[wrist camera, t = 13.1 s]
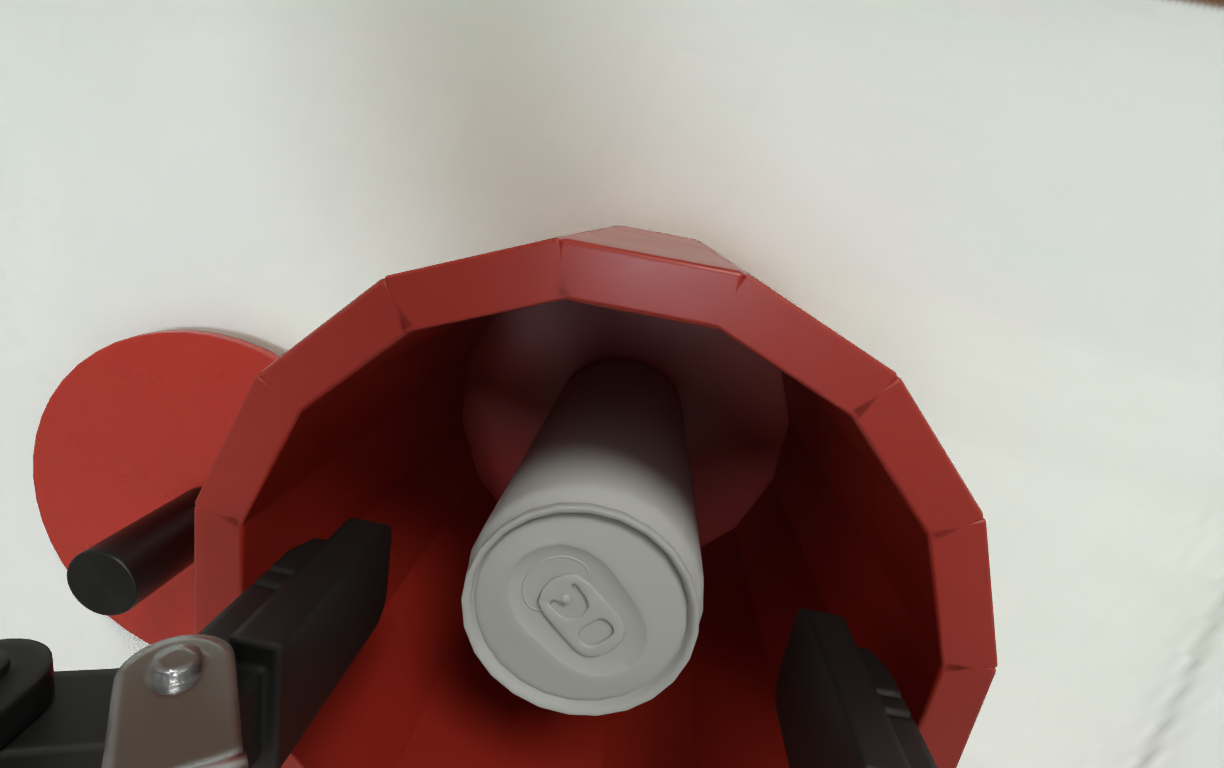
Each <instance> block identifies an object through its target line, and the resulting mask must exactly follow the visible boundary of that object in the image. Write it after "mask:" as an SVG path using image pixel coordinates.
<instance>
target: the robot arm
mask: <svg viewBox="0 0 1224 768" xmlns="http://www.w3.org/2000/svg"><path fill="white" fill-rule="evenodd" d="M391 541H392V530H391V527H390V525H387V524H382V523H377V522H372V521H367V520H362V519H357V518H349V519H348V520H346V521H345V522H344V523H343V524H342V525H341V526H340V527H339V528H338V529H337V530H336V531H335V532H334V533H333V534H332V535H331V536H330V537H329V538H328V539H327V540H324V539H319V538H313V539H311V540H309V541H307V542H305V543H303V544H301V545H299V546H296V547H294V548H292V549H290V550H288V551H287V552H286V553H285V554H284V555H283V556H282V557H281V558H280V559H279V560H277V561H276V562H275V563H274V564H273V565H272V566H271V567H270V570H269V571H268V570H267V571H266V572H264V573H263V574H262V575H261V576H260V577H259V578H258V579H257V580H256V581H255V584H254V585H250V586H249V587H248V588H247V589H246V590H245V591H244V592H243V593H242V594H241V595H240V596H238V597H237V598H236V599H235V600H234V601H233V602H232V603H231V604H230V605H229V606H228V607H226V608H225V609H224V610H223V611H222V612H221V613H220V614H219V615H218V616H217V617H216V618H215V619H213V620H212V621H211V622H210V623H209V624H208V625H207V626H206V627H205V628H204V629H203V630H202V631H200V632H199V633H198V634H190V635H182V636H176V637H172V638H168V639H165V640H162V641H159V642H156V643H154V644H151V645H149V646H147V647H145V648H143V649H142V650H140V651H138V652H137V653H135V654H134V655H132V656H131V657H130V658H129V659H128V660H126V661H125V662H124V663H123V665H122V666H121V667H120V668H116V669H99V670H78V671H56V672H54V670H53V659H52V652H51V651H50V649H49V648H48V647H47V646H46V645H44V644H42V643H40V642H38V641H34V640H30V639H2V640H0V768H281V767H282V765H283V764H284V762H285V761H286V759H287V758H288V756H289V755H290V753H291V752H292V750H293V749H294V747H295V746H296V744H297V743H298V741H299V740H300V739H301V737H302V736H303V734H304V733H305V731H306V730H307V728H308V727H309V725H310V724H311V722H312V721H313V719H314V718H315V716H316V715H317V713H318V712H319V710H320V709H321V708H322V706H323V705H324V703H325V702H326V700H327V699H328V697H329V696H330V694H331V693H332V691H333V690H334V688H335V687H336V685H337V684H338V682H339V681H340V679H341V678H342V676H343V675H344V674H345V672H346V671H347V669H348V668H349V666H350V665H351V663H352V662H353V660H354V659H355V657H356V656H357V654H358V653H359V651H360V650H361V648H362V647H363V645H364V644H365V643H366V641H367V640H368V638H369V637H370V635H371V634H372V632H373V631H374V629H375V628H376V626H377V624H378V622H379V620H380V617H381V615H382V612H383V609H384V605H385V601H386V596H387V587H388V575H389V564H390V552H391ZM775 704H776V711H777V716H778V720H779V724H780V728H781V733H782V737H783V741H784V746H785V750H786V754H787V759H788V763H789V767H790V768H938V767H937V765H936V763H935V761H934V759H933V757H932V755H931V753H930V751H929V749H928V747H927V745H926V743H925V741H924V739H923V737H922V735H921V733H920V731H919V729H918V727H917V725H916V723H915V721H914V719H911V713H910V711H909V709H908V707H907V705H906V703H905V701H904V699H901V693H900V691H899V689H898V687H897V685H896V683H895V681H894V679H893V677H892V675H891V673H890V671H889V670H888V669H887V668H886V667H885V666H884V665H883V664H882V662H881V661H880V660H879V659H878V658H877V657H876V656H875V655H874V654H873V653H872V652H871V651H870V650H869V649H867V648H861V647H857V646H856V643H855V641H854V639H853V637H852V635H851V632H850V630H849V628H848V626H847V623H846V621H845V619H844V618H843V617H842V616H841V615H837V614H831V613H826V612H821V611H816V610H811V609H806V608H800V609H799V610H798V612H797V614H796V616H795V619H794V622H793V626H792V629H791V632H790V635H789V639H788V642H787V645H786V649H785V652H784V655H783V658H782V662H781V665H780V668H779V672H778V675H777V681H776V689H775Z"/></svg>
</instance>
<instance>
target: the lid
mask: <svg viewBox="0 0 1224 768" xmlns="http://www.w3.org/2000/svg"><path fill="white" fill-rule="evenodd" d="M279 357H280V356H278V355H276V354H274V353H272V352H270V351H269V350H267V349H264V348H262V347H259V346H257V345H254V344H252V343H249V342H246V341H244V340H241V339H237V338H233V337H229V336H226V335H222V334H218V333H210V332H203V331H195V330H168V331H161V332H154V333H147V334H142V335H138V336H135V337H131V338H128V339H125V340H122V341H118V342H115V343H113V344H111V345H109V346H107V347H105V348H103V349H101V350H99V351H97V352H95V353H94V354H92V355H91V356H90V357H88V358H87V359H85V360H84V361H83V362H81V363H80V364H78V365H77V366H76V367H75V368H74V369H73V370H72V371H71V372H70V373H69V374H68V375H67V376H66V377H65V378H64V379H63V381H62V382H61V383H60V385H59V386H58V388H57V389H56V390H55V392H54V393H53V395H52V396H51V398H50V400H49V402H48V404H47V406H46V408H45V410H44V412H43V415H42V417H41V421H40V424H39V427H38V431H37V434H36V440H35V447H34V454H33V479H34V486H35V493H36V499H37V503H38V507H39V510H40V514H41V518H42V521H43V524H44V526H45V529H46V531H47V533H48V536H49V538H50V541H51V543H52V545H53V547H54V548H55V550H56V552H57V554H58V556H59V558H60V559H61V561H62V563H63V564H64V566H65V567H66V569H67V580H68V584H69V587H70V589H71V591H72V593H73V595H74V596H75V597H76V599H77V600H78V601H79V602H80V603H81V604H82V605H84V606H85V607H86V608H88V609H89V610H91V611H93V612H96V613H98V614H102V615H107V616H109V617H110V618H112V619H113V620H114V621H116V622H117V623H118V624H119V625H121V626H122V627H123V628H125V629H126V630H127V631H129V632H131V633H132V634H134V635H135V636H137V637H138V638H140V639H142V640H143V641H145V642H147V643H149V644H154V643H156V642H159V641H162V640H165V639H168V638H172V637H176V636H182V635H190V634H195V602H194V508H195V506H196V504H195V501H196V499H197V497H198V495H199V493H200V491H201V489H202V487H203V485H204V482H205V480H206V478H207V476H208V474H209V472H210V470H211V468H212V466H213V464H214V462H215V460H216V458H217V456H218V454H219V452H220V450H221V448H222V445H223V443H224V441H225V439H226V437H227V435H228V433H229V431H230V429H231V427H232V425H233V423H234V421H235V419H236V417H237V415H238V413H239V411H240V408H241V406H242V404H243V402H244V400H245V398H246V396H247V394H248V392H249V390H250V388H251V386H252V384H253V382H254V380H255V378H256V377H257V376H258V375H260V373H261V372H262V370H264V369H265V368H266V367H268V366H269V365H270V364H271V363H273V362H274V361H275V360H277V359H278V358H279Z"/></svg>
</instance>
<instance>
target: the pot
mask: <svg viewBox="0 0 1224 768" xmlns="http://www.w3.org/2000/svg"><path fill="white" fill-rule="evenodd" d="M607 360H629V361H632V362H636V363H640V364H644V365H646V366H648V367H649V368H651V369H653V370H655V371H657V372H658V373H660V374H661V375H662V376H663V377H664V378H665V379H666V380H667V381H668V382H669V383H670V384H671V385H672V387H673V389H674V391H675V393H676V395H677V397H678V399H679V401H680V406H681V410H682V415H683V421H684V430H685V438H686V445H687V451H688V456H689V462H690V468H691V474H692V482H693V490H694V498H695V506H696V515H697V524H698V533H699V541H700V550H701V559H702V568H703V576H704V591H703V613H702V616H701V619H700V622H699V633H698V636H697V639H696V643H695V646H694V649H693V652H692V655H691V658H690V660H689V661H688V663H687V664H686V665H685V667H684V668H683V670H682V671H681V672H680V674H679V675H678V677H677V678H676V679H675V681H674V682H673V683H671V684H670V685H669V686H668V687H667V688H665V689H664V690H663V691H662V692H660V693H659V694H658V695H657V696H655V697H654V698H653V699H651V700H649V701H647V702H644V703H642V704H640V705H638V706H635V707H633V708H631V709H629V710H626V711H621V712H615V713H610V714H605V715H599V716H591V715H568V714H564V713H560V712H556V711H553V710H549V709H545V708H541V707H538V706H536V705H534V704H532V703H530V702H529V701H527V700H525V699H523V698H521V697H519V696H517V695H515V694H513V693H512V692H511V691H509V690H508V689H507V688H506V687H505V686H503V685H502V684H501V683H500V682H499V681H497V680H496V679H495V678H494V677H493V676H491V675H490V673H489V672H488V670H487V669H486V668H485V666H484V665H483V664H482V662H481V661H480V660H479V658H478V657H477V656H476V654H475V653H474V651H473V648H472V646H471V643H470V641H469V638H468V636H467V633H466V631H465V628H464V623H463V613H462V602H461V598H462V592H463V587H464V582H465V577H466V572H467V569H468V564H469V559H470V554H471V550H472V548H473V545H474V544H475V542H476V540H477V538H478V536H479V535H480V533H481V531H482V529H483V527H484V525H485V524H486V522H487V520H488V518H489V517H490V515H491V513H492V511H493V510H494V508H495V506H496V504H497V503H498V501H499V499H500V498H501V496H502V494H503V492H504V491H505V489H506V487H507V485H508V484H509V482H510V480H511V478H512V477H513V475H514V473H515V472H516V470H517V468H518V466H519V465H520V463H521V461H522V459H523V458H524V456H525V454H526V452H527V451H528V449H529V447H530V446H531V444H532V442H533V440H534V439H535V437H536V435H537V433H538V432H539V430H540V428H541V426H542V425H543V423H544V421H545V420H546V418H547V416H548V414H549V413H550V411H551V409H552V407H553V406H554V404H555V402H556V400H557V399H558V397H559V395H560V394H561V392H562V390H563V388H564V387H565V385H566V384H567V383H568V382H569V381H570V380H571V379H572V378H573V377H574V376H575V375H576V374H577V373H578V372H580V371H582V370H583V369H585V368H587V367H589V366H590V365H592V364H596V363H600V362H603V361H607ZM195 504H196V506H195V508H194V602H195V634H198V633H199V632H200V631H202V630H203V629H204V628H205V627H206V626H207V625H208V624H209V623H210V622H211V621H212V620H213V619H215V618H216V617H217V616H218V615H219V614H220V613H221V612H222V611H223V610H224V609H225V608H226V607H228V606H229V605H230V604H231V603H232V602H233V601H234V600H235V599H236V598H237V597H238V596H240V595H241V594H242V593H243V592H244V591H245V590H246V589H247V588H248V587H249V586H250V585H254V584H255V581H256V580H257V579H258V578H259V577H260V576H261V575H262V574H263V573H264V572H266V571H267V570H268V571H269V570H270V567H271V566H272V565H273V564H274V563H275V562H276V561H277V560H279V559H280V558H281V557H282V556H283V555H284V554H285V553H286V552H287V551H288V550H290V549H292V548H294V547H296V546H299V545H301V544H303V543H305V542H307V541H309V540H311V539H313V538H319V539H324V540H327V539H328V538H329V537H330V536H331V535H332V534H333V533H334V532H335V531H336V530H337V529H338V528H339V527H340V526H341V525H342V524H343V523H344V522H345V521H346V520H348V519H349V518H357V519H362V520H367V521H372V522H377V523H382V524H387V525H390V527H391V530H392V541H391V552H390V564H389V575H388V587H387V596H386V601H385V605H384V609H383V612H382V615H381V617H380V620H379V622H378V624H377V626H376V628H375V629H374V631H373V632H372V634H371V635H370V637H369V638H368V640H367V641H366V643H365V644H364V645H363V647H362V648H361V650H360V651H359V653H358V654H357V656H356V657H355V659H354V660H353V662H352V663H351V665H350V666H349V668H348V669H347V671H346V672H345V674H344V675H343V676H342V678H341V679H340V681H339V682H338V684H337V685H336V687H335V688H334V690H333V691H332V693H331V694H330V696H329V697H328V699H327V700H326V702H325V703H324V705H323V706H322V708H321V709H320V710H319V712H318V713H317V715H316V716H315V718H314V719H313V721H312V722H311V724H310V725H309V727H308V728H307V730H306V731H305V733H304V734H303V736H302V737H301V739H300V740H299V741H298V743H297V744H296V746H295V747H294V749H293V750H292V752H291V753H290V755H289V756H288V758H287V759H286V761H285V762H284V764H283V765H282V767H281V768H790V767H789V763H788V759H787V754H786V750H785V746H784V741H783V737H782V733H781V728H780V724H779V720H778V716H777V711H776V704H775V689H776V681H777V675H778V672H779V668H780V665H781V662H782V658H783V655H784V652H785V649H786V645H787V642H788V639H789V635H790V632H791V629H792V626H793V622H794V619H795V616H796V614H797V612H798V610H799V609H800V608H806V609H811V610H816V611H821V612H826V613H831V614H837V615H841V616H842V617H843V618H844V619H845V621H846V623H847V626H848V628H849V630H850V632H851V635H852V637H853V639H854V641H855V643H856V646H857V647H861V648H867V649H869V650H870V651H871V652H872V653H873V654H874V655H875V656H876V657H877V658H878V659H879V660H880V661H881V662H882V664H883V665H884V666H885V667H886V668H887V669H888V670H889V671H890V673H891V675H892V677H893V679H894V681H895V683H896V685H897V687H898V689H899V691H900V693H901V699H904V701H905V703H906V705H907V707H908V709H909V711H910V713H911V719H914V721H915V723H916V725H917V727H918V729H919V731H920V733H921V735H922V737H923V739H924V741H925V743H926V745H927V747H928V749H929V751H930V753H931V755H932V757H933V759H934V761H935V763H936V765H937V767H938V768H956V767H957V764H958V762H959V760H960V757H961V755H962V752H963V750H964V747H965V745H966V743H967V740H968V738H969V735H970V733H971V730H972V728H973V726H974V723H975V721H976V718H977V716H978V713H979V711H980V709H981V706H982V704H983V701H984V699H985V696H986V694H987V692H988V689H989V687H990V684H991V682H992V679H993V677H994V675H995V672H996V669H995V667H997V654H996V641H995V629H994V616H993V604H992V591H991V579H990V566H989V554H988V541H987V529H986V521H985V519H984V518H983V513H982V511H981V509H980V508H979V506H978V504H977V503H976V501H975V500H974V498H973V496H972V495H971V493H970V491H969V490H968V488H967V486H966V485H965V483H964V481H963V480H962V478H961V477H960V475H959V473H958V472H957V470H956V468H955V467H954V465H953V463H952V462H951V460H950V458H949V457H948V455H947V454H946V452H945V450H944V449H943V447H942V445H941V444H940V442H939V440H938V439H937V437H936V436H935V434H934V432H933V431H932V429H931V427H930V426H929V424H928V422H927V421H926V419H925V417H924V416H923V414H922V413H921V411H920V409H919V408H918V406H917V404H916V403H915V401H914V399H913V398H912V396H911V394H910V393H909V391H908V390H907V388H906V386H905V385H904V383H903V381H902V380H901V379H900V378H899V377H897V375H896V373H895V372H894V371H893V370H891V369H890V368H888V367H887V366H885V365H884V364H882V363H881V362H879V361H878V360H876V359H875V358H873V357H872V356H870V355H869V354H867V353H866V352H864V351H863V350H861V349H860V348H858V347H857V346H855V345H854V344H852V343H851V342H849V341H848V340H846V339H845V338H843V337H842V336H841V335H839V334H838V333H836V332H835V331H833V330H832V329H830V328H829V327H827V326H826V325H824V324H823V323H821V322H820V321H818V320H817V319H815V318H814V317H812V316H811V315H809V314H808V313H806V312H805V311H803V310H802V309H800V308H799V307H797V306H796V305H794V304H793V303H791V302H790V301H788V300H787V299H785V298H784V297H782V296H781V295H779V294H778V293H776V292H775V291H773V290H772V289H770V288H769V287H767V286H766V285H765V284H763V283H762V282H760V281H759V280H757V279H756V278H754V277H753V276H751V275H750V274H748V273H747V272H745V271H744V270H742V269H741V268H739V267H738V266H736V265H734V264H733V263H731V262H730V261H728V260H727V259H725V258H724V257H722V256H721V255H719V254H718V253H716V252H715V251H713V250H712V249H710V248H709V247H707V246H706V245H704V244H703V243H701V242H700V241H696V240H695V239H689V238H684V237H679V236H673V235H668V234H663V233H659V232H652V231H647V230H641V229H636V228H630V227H625V226H613V227H608V228H603V229H598V230H593V231H587V232H582V233H577V234H572V235H567V236H562V237H557V238H552V239H548V240H543V241H539V242H534V243H530V244H526V245H521V246H517V247H512V248H508V249H503V250H499V251H494V252H490V253H486V254H481V255H477V256H472V257H468V258H463V259H459V260H454V261H450V262H445V263H441V264H437V265H432V266H428V267H423V268H419V269H414V270H410V271H405V272H401V273H397V274H392V275H388V276H386V277H385V279H381V280H379V281H378V282H377V283H376V284H374V285H373V286H372V287H370V288H369V289H368V290H366V291H365V292H364V293H363V294H361V295H360V296H359V297H357V298H356V299H355V300H353V301H352V302H351V303H350V304H348V305H347V306H346V307H344V308H343V309H342V310H340V311H339V312H338V313H337V314H335V315H334V316H333V317H331V318H330V319H329V320H327V321H326V322H325V323H323V324H322V325H321V326H320V327H318V328H317V329H316V330H314V331H313V332H312V333H310V334H309V335H308V336H307V337H305V338H304V339H303V340H301V341H300V342H299V343H297V344H296V345H295V346H294V347H292V348H291V349H290V350H288V351H287V352H286V353H284V354H283V355H282V356H281V357H279V358H278V359H277V360H275V361H274V362H273V363H271V364H270V365H269V366H268V367H266V368H265V369H264V370H262V372H261V373H260V375H258V376H257V377H256V378H255V380H254V382H253V384H252V386H251V388H250V390H249V392H248V394H247V396H246V398H245V400H244V402H243V404H242V406H241V408H240V411H239V413H238V415H237V417H236V419H235V421H234V423H233V425H232V427H231V429H230V431H229V433H228V435H227V437H226V439H225V441H224V443H223V445H222V448H221V450H220V452H219V454H218V456H217V458H216V460H215V462H214V464H213V466H212V468H211V470H210V472H209V474H208V476H207V478H206V480H205V482H204V485H203V487H202V489H201V491H200V493H199V495H198V497H197V499H196V501H195Z"/></svg>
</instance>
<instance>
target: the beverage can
mask: <svg viewBox="0 0 1224 768" xmlns="http://www.w3.org/2000/svg"><path fill="white" fill-rule="evenodd" d="M703 591H704V576H703V568H702V559H701V550H700V541H699V533H698V524H697V515H696V506H695V498H694V490H693V482H692V474H691V468H690V462H689V456H688V451H687V445H686V438H685V430H684V421H683V415H682V410H681V406H680V401H679V399H678V397H677V395H676V393H675V391H674V389H673V387H672V385H671V384H670V383H669V382H668V381H667V380H666V379H665V378H664V377H663V376H662V375H661V374H660V373H658V372H657V371H655V370H653V369H651V368H649V367H648V366H646V365H644V364H640V363H636V362H632V361H629V360H607V361H603V362H600V363H596V364H592V365H590V366H589V367H587V368H585V369H583V370H582V371H580V372H578V373H577V374H576V375H575V376H574V377H573V378H572V379H571V380H570V381H569V382H568V383H567V384H566V385H565V387H564V388H563V390H562V392H561V394H560V395H559V397H558V399H557V400H556V402H555V404H554V406H553V407H552V409H551V411H550V413H549V414H548V416H547V418H546V420H545V421H544V423H543V425H542V426H541V428H540V430H539V432H538V433H537V435H536V437H535V439H534V440H533V442H532V444H531V446H530V447H529V449H528V451H527V452H526V454H525V456H524V458H523V459H522V461H521V463H520V465H519V466H518V468H517V470H516V472H515V473H514V475H513V477H512V478H511V480H510V482H509V484H508V485H507V487H506V489H505V491H504V492H503V494H502V496H501V498H500V499H499V501H498V503H497V504H496V506H495V508H494V510H493V511H492V513H491V515H490V517H489V518H488V520H487V522H486V524H485V525H484V527H483V529H482V531H481V533H480V535H479V536H478V538H477V540H476V542H475V544H474V545H473V548H472V550H471V554H470V559H469V564H468V569H467V572H466V577H465V582H464V587H463V592H462V598H461V602H462V613H463V623H464V628H465V631H466V633H467V636H468V638H469V641H470V643H471V646H472V648H473V651H474V653H475V654H476V656H477V657H478V658H479V660H480V661H481V662H482V664H483V665H484V666H485V668H486V669H487V670H488V672H489V673H490V675H491V676H493V677H494V678H495V679H496V680H497V681H499V682H500V683H501V684H502V685H503V686H505V687H506V688H507V689H508V690H509V691H511V692H512V693H513V694H515V695H517V696H519V697H521V698H523V699H525V700H527V701H529V702H530V703H532V704H534V705H536V706H538V707H541V708H545V709H549V710H553V711H556V712H560V713H564V714H568V715H591V716H599V715H605V714H610V713H615V712H621V711H626V710H629V709H631V708H633V707H635V706H638V705H640V704H642V703H644V702H647V701H649V700H651V699H653V698H654V697H655V696H657V695H658V694H659V693H660V692H662V691H663V690H664V689H665V688H667V687H668V686H669V685H670V684H671V683H673V682H674V681H675V679H676V678H677V677H678V675H679V674H680V672H681V671H682V670H683V668H684V667H685V665H686V664H687V663H688V661H689V660H690V658H691V655H692V652H693V649H694V646H695V643H696V639H697V636H698V633H699V622H700V619H701V616H702V613H703Z"/></svg>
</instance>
